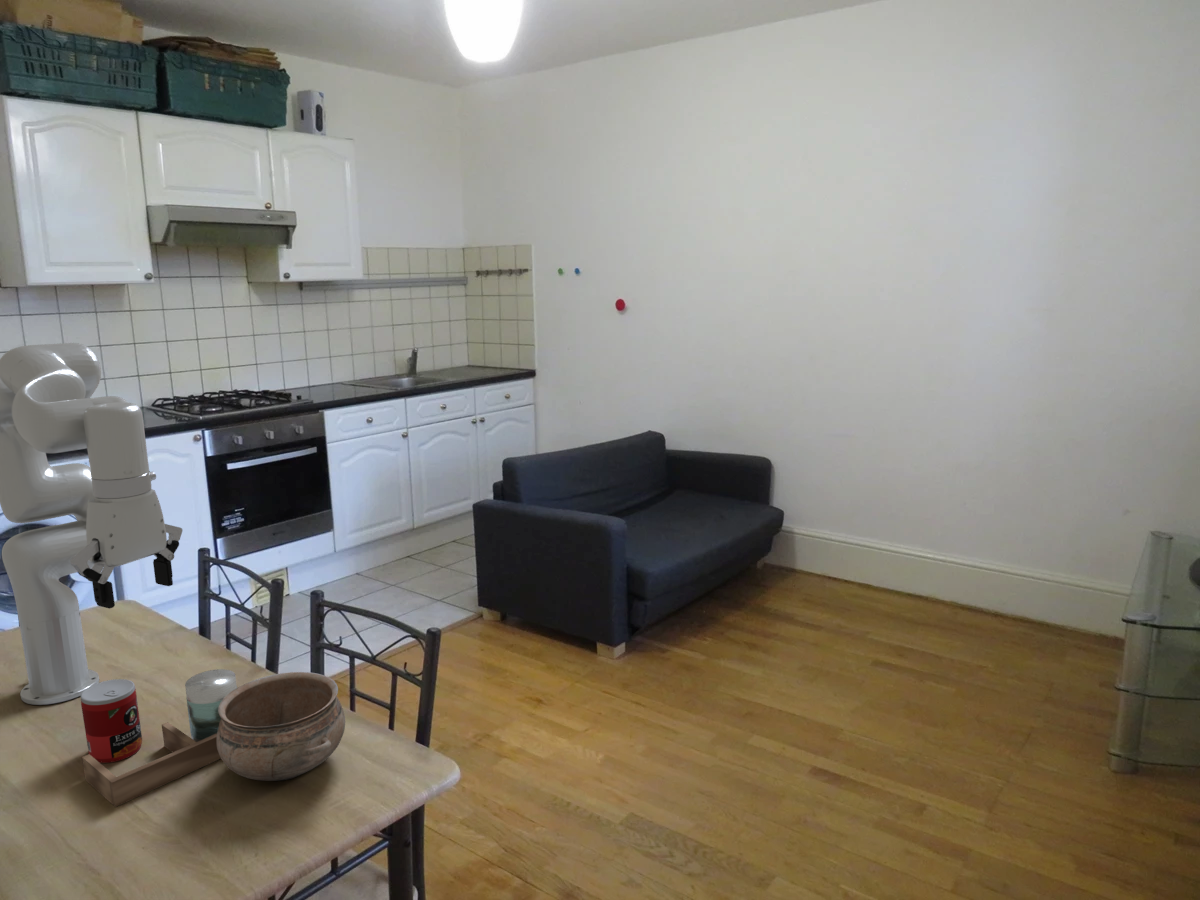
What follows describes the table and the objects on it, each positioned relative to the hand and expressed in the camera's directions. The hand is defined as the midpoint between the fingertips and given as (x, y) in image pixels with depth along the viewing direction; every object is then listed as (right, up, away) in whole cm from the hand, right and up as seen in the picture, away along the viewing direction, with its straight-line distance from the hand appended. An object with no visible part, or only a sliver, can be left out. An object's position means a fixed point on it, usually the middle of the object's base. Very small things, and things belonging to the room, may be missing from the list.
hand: (136, 595), depth 127 cm
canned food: (-9, -28, +11) cm, 31 cm away
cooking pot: (+21, -29, +5) cm, 36 cm away
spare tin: (+6, -27, +14) cm, 31 cm away
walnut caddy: (+3, -28, +9) cm, 29 cm away
